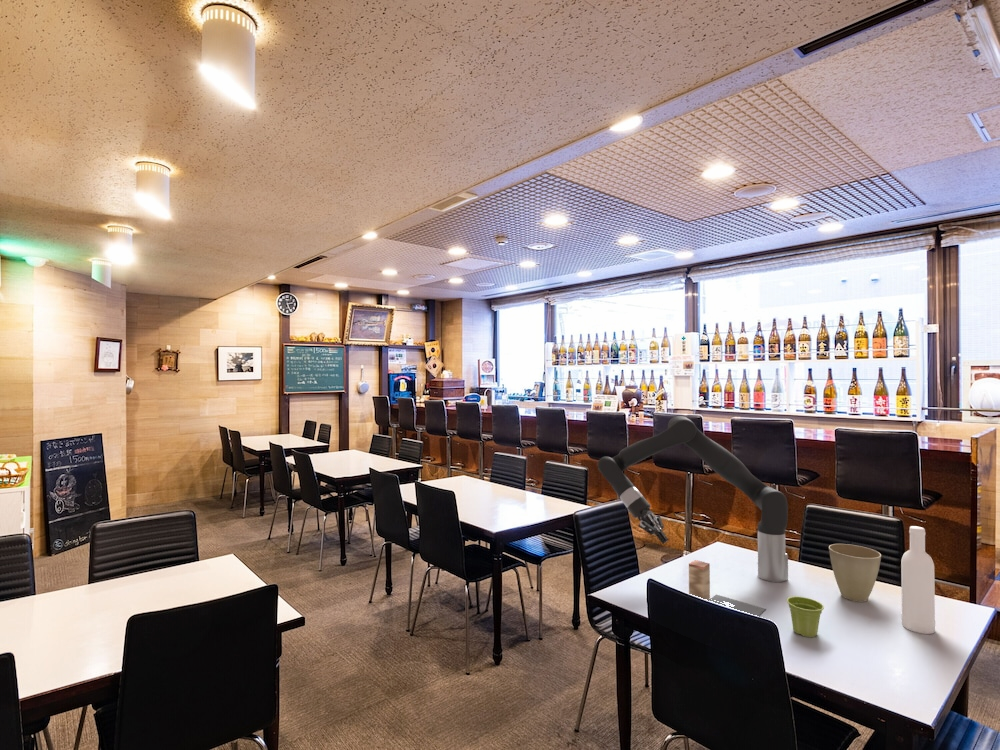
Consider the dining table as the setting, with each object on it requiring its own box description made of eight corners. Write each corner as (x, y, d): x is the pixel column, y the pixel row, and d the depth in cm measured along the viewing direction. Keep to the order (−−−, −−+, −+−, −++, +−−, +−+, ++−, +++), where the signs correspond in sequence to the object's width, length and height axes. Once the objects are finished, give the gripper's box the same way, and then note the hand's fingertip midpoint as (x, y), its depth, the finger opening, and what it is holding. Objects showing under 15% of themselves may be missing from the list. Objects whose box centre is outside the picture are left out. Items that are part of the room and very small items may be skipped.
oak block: (689, 598, 179) (688, 563, 179) (695, 594, 183) (695, 559, 183) (703, 603, 176) (703, 567, 176) (709, 598, 179) (709, 563, 179)
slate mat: (699, 607, 172) (699, 606, 172) (716, 595, 182) (716, 594, 182) (751, 623, 161) (751, 622, 161) (765, 609, 170) (765, 608, 170)
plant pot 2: (863, 610, 169) (863, 560, 170) (819, 593, 183) (818, 547, 183) (892, 601, 176) (891, 554, 176) (846, 585, 189) (846, 541, 189)
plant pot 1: (814, 625, 159) (813, 596, 159) (830, 641, 150) (830, 610, 150) (781, 624, 160) (781, 595, 160) (795, 639, 151) (795, 609, 151)
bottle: (926, 636, 152) (925, 532, 152) (896, 625, 159) (895, 526, 159) (940, 630, 156) (939, 528, 156) (910, 619, 163) (909, 522, 163)
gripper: (631, 498, 190) (663, 540, 181) (650, 492, 199) (681, 531, 191) (619, 511, 194) (649, 552, 185) (637, 504, 203) (667, 543, 194)
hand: (665, 541), depth 188 cm, fingers closed
